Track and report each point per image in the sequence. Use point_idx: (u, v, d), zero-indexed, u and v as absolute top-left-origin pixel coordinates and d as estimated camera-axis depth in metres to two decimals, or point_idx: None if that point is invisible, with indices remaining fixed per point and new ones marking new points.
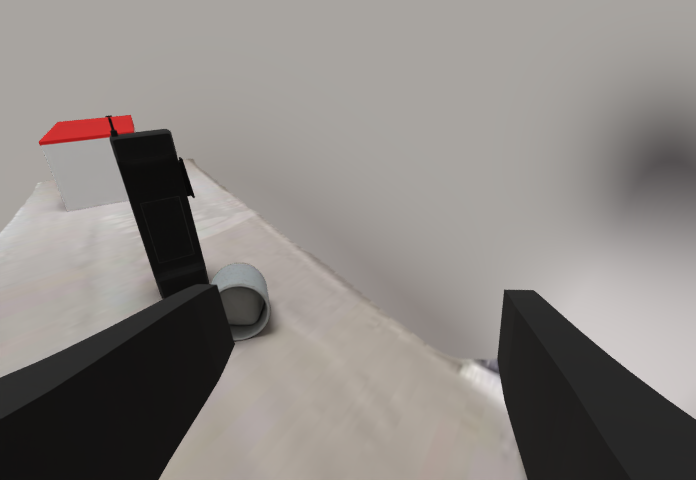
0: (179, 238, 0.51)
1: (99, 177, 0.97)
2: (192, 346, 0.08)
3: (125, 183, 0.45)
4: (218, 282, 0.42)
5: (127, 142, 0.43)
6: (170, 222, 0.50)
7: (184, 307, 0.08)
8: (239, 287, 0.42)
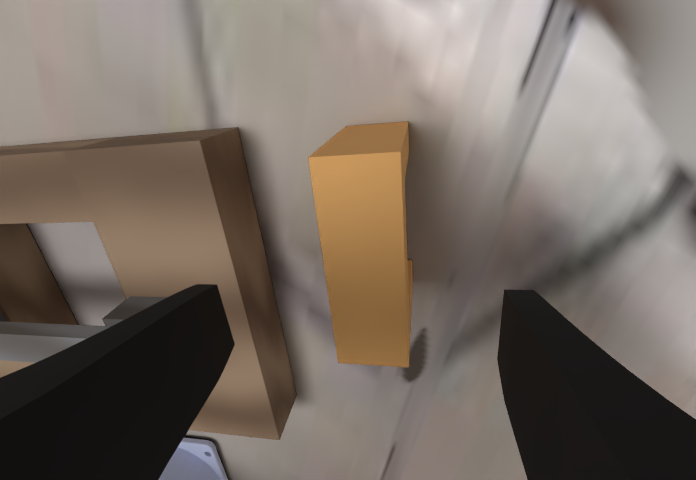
0: None
1: None
2: (192, 346, 0.08)
3: None
4: None
5: None
6: None
7: (184, 307, 0.08)
8: None
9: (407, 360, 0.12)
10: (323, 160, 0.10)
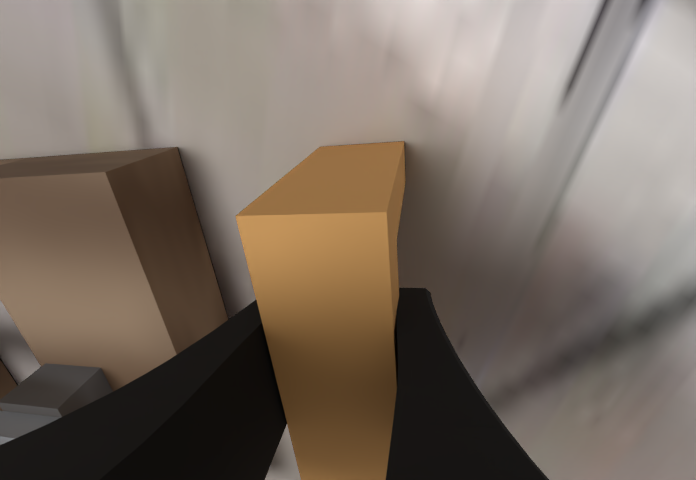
0: None
1: None
2: None
3: None
4: None
5: None
6: None
7: None
8: None
9: None
10: (260, 221, 0.06)
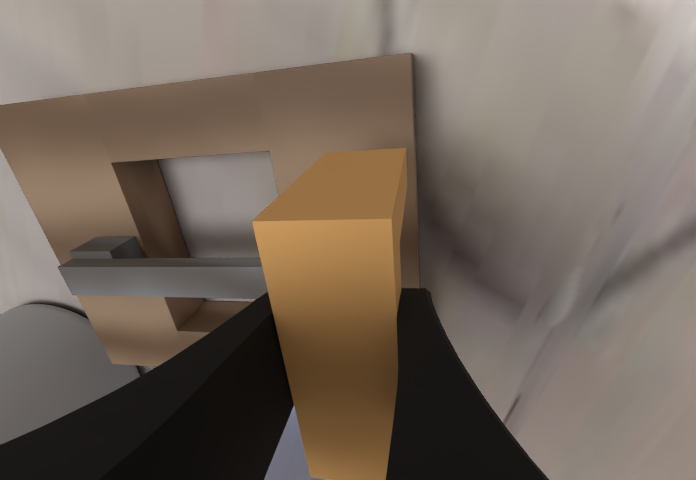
0: None
1: None
2: None
3: None
4: None
5: None
6: None
7: None
8: None
9: None
10: (274, 226, 0.06)
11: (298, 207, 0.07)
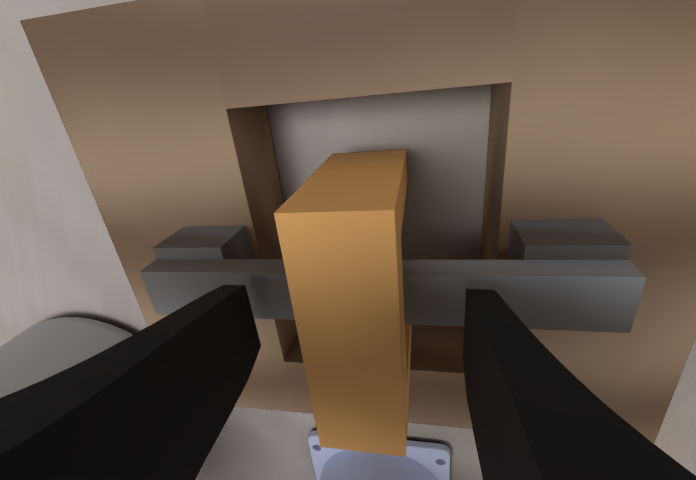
0: None
1: None
2: (223, 348, 0.08)
3: None
4: None
5: None
6: None
7: (216, 308, 0.08)
8: None
9: (404, 449, 0.10)
10: (293, 217, 0.07)
11: (313, 201, 0.08)
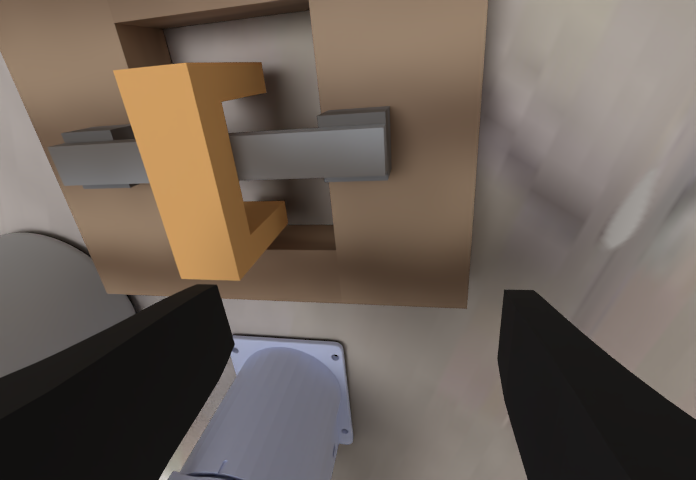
0: None
1: None
2: (192, 346, 0.08)
3: None
4: None
5: None
6: None
7: (184, 307, 0.08)
8: None
9: (237, 273, 0.14)
10: (125, 72, 0.11)
11: None
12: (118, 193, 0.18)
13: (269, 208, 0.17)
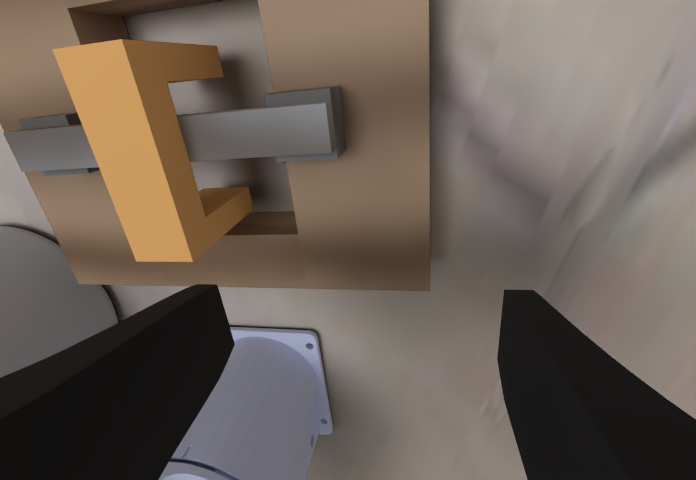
0: None
1: None
2: (192, 346, 0.08)
3: None
4: None
5: None
6: None
7: (184, 307, 0.08)
8: None
9: (190, 254, 0.14)
10: (64, 51, 0.11)
11: None
12: (82, 181, 0.18)
13: (231, 193, 0.17)
